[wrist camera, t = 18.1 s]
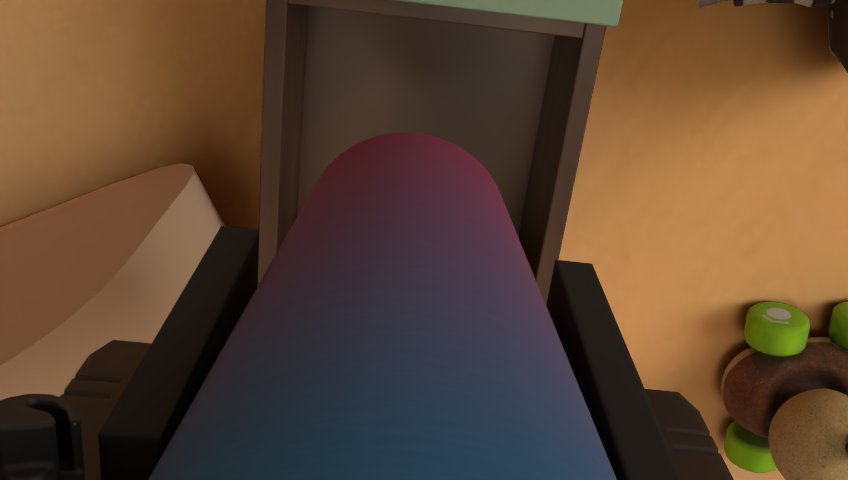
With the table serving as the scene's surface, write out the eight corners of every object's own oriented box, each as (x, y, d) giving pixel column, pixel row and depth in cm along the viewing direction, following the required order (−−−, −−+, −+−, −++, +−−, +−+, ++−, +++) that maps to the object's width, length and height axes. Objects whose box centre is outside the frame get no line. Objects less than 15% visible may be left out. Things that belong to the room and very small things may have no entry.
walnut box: (282, 221, 40) (256, 284, 34) (294, -40, 35) (266, -22, 29) (529, 248, 41) (547, 314, 35) (576, -6, 36) (608, 19, 30)
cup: (540, 83, 19) (850, 661, 5) (544, 335, 21) (748, 1149, 8) (249, 105, 19) (-223, 713, 5) (291, 351, 22) (56, 1167, 8)
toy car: (858, 437, 46) (980, 598, 36) (704, 440, 46) (782, 600, 36) (893, 296, 42) (1041, 431, 32) (724, 300, 42) (818, 434, 32)
